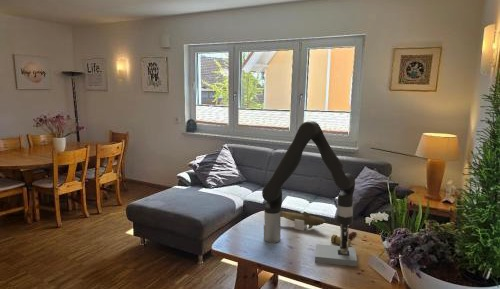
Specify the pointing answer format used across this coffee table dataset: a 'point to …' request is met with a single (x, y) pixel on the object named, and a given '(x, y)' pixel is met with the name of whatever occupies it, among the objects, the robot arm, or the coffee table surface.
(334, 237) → the gavel
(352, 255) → the board
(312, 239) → the coffee table surface
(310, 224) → the wood carving
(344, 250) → the peg
